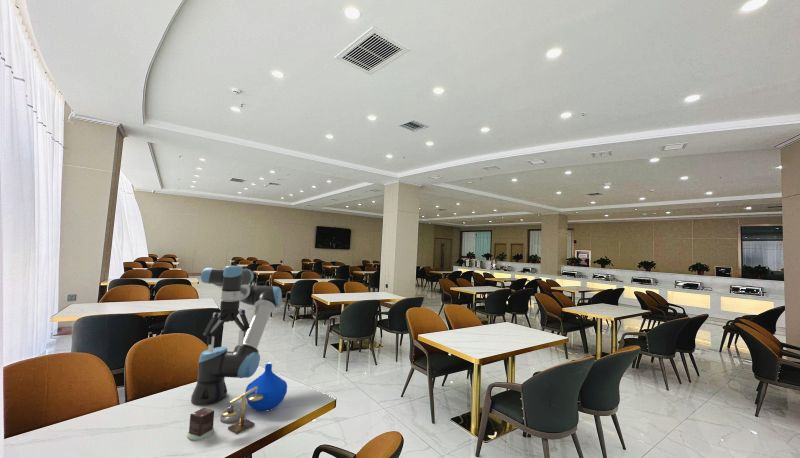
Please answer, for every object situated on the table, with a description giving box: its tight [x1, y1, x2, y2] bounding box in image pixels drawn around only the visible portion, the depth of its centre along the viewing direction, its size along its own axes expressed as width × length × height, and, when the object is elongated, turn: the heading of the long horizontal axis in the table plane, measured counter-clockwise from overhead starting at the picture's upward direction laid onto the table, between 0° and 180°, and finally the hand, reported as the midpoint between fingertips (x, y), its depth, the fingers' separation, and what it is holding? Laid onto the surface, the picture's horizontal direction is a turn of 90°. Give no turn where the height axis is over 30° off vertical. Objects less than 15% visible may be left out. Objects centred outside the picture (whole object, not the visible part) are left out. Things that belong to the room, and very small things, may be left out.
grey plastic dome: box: [219, 410, 241, 425], centre depth 139 cm, size 9×9×1 cm
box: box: [188, 407, 215, 436], centre depth 127 cm, size 6×6×7 cm
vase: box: [244, 363, 288, 412], centre depth 152 cm, size 18×18×19 cm
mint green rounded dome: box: [186, 426, 215, 441], centre depth 127 cm, size 9×9×1 cm
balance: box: [221, 386, 263, 435], centre depth 133 cm, size 6×17×15 cm, turn 148°
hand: (226, 348), depth 143 cm, fingers open, 13 cm apart
